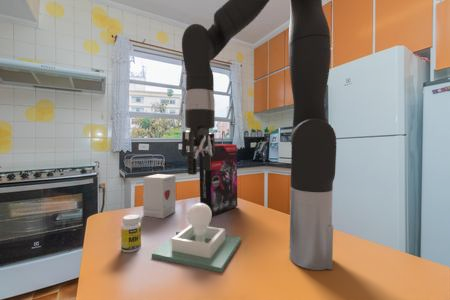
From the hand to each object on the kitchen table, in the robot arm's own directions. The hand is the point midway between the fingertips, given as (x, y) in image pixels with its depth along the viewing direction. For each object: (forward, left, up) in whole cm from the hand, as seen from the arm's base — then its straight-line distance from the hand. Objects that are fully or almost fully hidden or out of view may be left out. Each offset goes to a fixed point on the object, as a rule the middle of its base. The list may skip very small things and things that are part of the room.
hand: (200, 172), depth 57 cm
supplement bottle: (+17, +6, -20) cm, 27 cm away
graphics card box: (+7, -32, -20) cm, 38 cm away
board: (0, 0, -20) cm, 20 cm away
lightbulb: (0, 0, -19) cm, 19 cm away
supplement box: (+27, -20, -20) cm, 39 cm away
